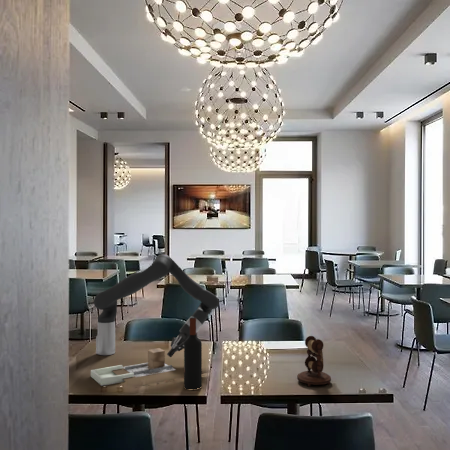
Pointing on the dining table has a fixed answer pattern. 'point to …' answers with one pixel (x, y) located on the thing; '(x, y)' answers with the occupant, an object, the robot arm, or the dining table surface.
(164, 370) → the slot plate
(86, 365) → the dining table surface
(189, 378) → the wine bottle
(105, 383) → the tray
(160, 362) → the block
